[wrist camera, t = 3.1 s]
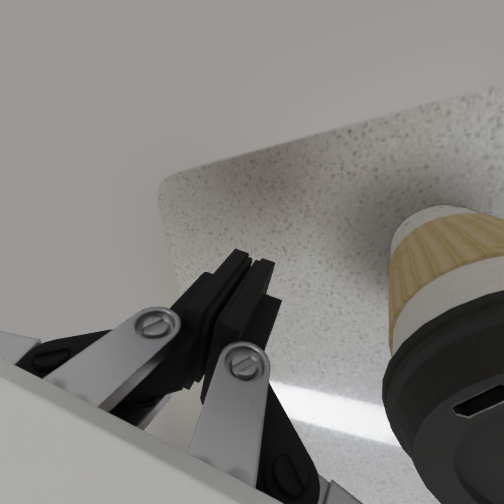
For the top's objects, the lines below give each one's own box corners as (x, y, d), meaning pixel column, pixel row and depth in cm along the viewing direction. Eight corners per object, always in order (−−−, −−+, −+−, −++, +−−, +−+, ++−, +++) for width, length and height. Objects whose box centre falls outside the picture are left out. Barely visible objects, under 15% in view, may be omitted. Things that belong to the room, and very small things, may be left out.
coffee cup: (438, 323, 22) (562, 605, 9) (338, 256, 22) (323, 440, 9) (568, 233, 17) (1242, 584, 4) (436, 147, 17) (692, 227, 4)
